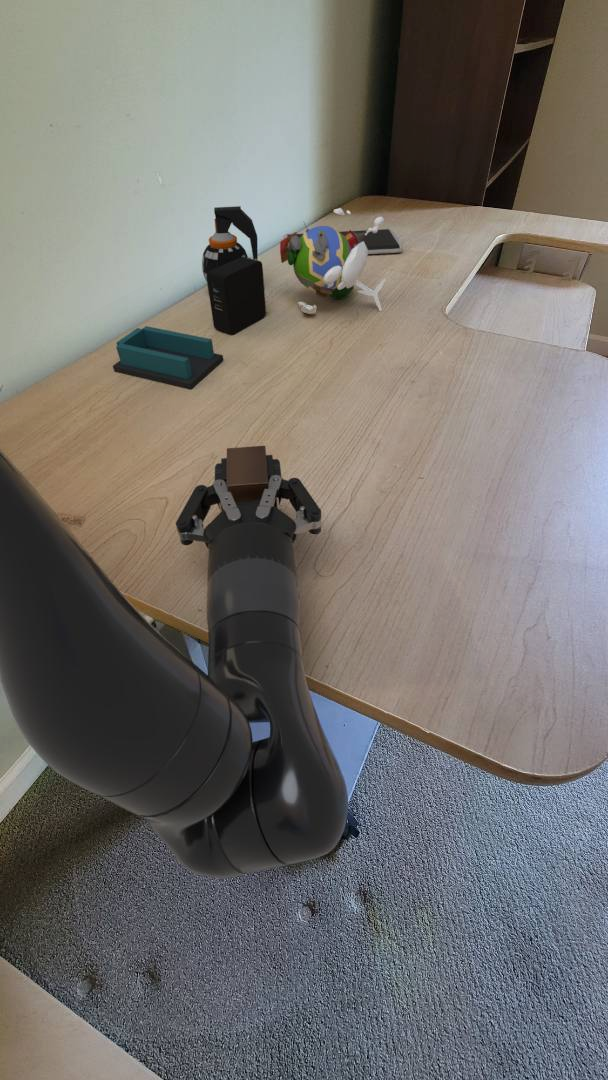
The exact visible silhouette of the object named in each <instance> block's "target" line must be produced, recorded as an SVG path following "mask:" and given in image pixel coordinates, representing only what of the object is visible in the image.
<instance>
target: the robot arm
mask: <svg viewBox="0 0 608 1080" xmlns="http://www.w3.org/2000/svg"><path fill="white" fill-rule="evenodd" d="M266 460H267V472H268V484H269V488H265V489H264V492H263V495H262V498H261V500H255V501H251V502H242V501H239V502H235V501H234V499H233V496H232V494H231V492H230V491H227V457H224V458H221V460H220V462H219V463H216V464H215V466H214V481H213V482H212V485H209V486H206V485H204V484H198V485H197V486H195V488H194V489H193V491H192V492H191V494H190V496H189V498H188V499H187V502H186V503H185V505H184V507H183V509H182V511H181V513H180V514H179V516H178V518H177V520H176V521H175V527H176V530H177V534H178V538H179V541H180V544H182V545H183V546H190V545H192V544H194V541H195V542H201V543H204V544H205V547H206V548H207V550H208V553H207V554H208V555H207V579H206V580H207V583H206V584H207V585H206V623H207V630H208V631H207V632H208V652H207V653H208V654H207V656H208V657H207V673H206V672H204V671H203V670H202V669H201V668H200V667H199V666H198V665H196V664H195V663H194V662H193V661H192V660H191V659H189V657H187V656H186V655H185V654H184V653H183V652H182V651H181V650H179V649H178V648H177V647H176V646H175V645H174V644H172V643H171V642H170V641H169V640H168V639H167V638H165V636H163V635H162V634H161V633H160V632H159V631H158V630H157V629H156V628H155V627H154V626H153V624H151V623H150V622H149V621H148V620H147V619H146V618H145V616H143V614H142V613H141V612H140V611H139V610H138V609H137V607H135V606H134V605H133V604H132V602H131V601H130V600H129V599H128V598H127V597H126V595H125V594H124V593H123V592H122V591H121V589H120V588H119V587H118V586H117V585H116V584H115V582H114V581H113V580H112V579H111V578H110V577H109V575H108V574H107V573H106V572H105V571H104V570H103V568H102V567H101V566H100V564H99V563H98V562H97V561H96V560H95V558H94V557H93V556H92V555H91V554H90V552H89V551H88V550H87V549H86V547H85V546H84V545H83V544H82V542H81V541H80V539H78V538H77V536H76V535H75V533H73V531H72V530H71V529H70V528H69V526H68V525H67V524H66V523H65V522H64V520H62V518H61V517H60V516H59V514H58V513H57V512H56V511H55V510H54V509H53V508H52V506H51V505H50V504H49V503H48V501H46V500H45V498H44V497H43V496H42V494H40V493H39V491H38V490H37V489H36V487H34V485H33V484H32V483H31V482H30V480H29V479H28V478H27V477H26V476H25V475H24V474H23V473H22V472H21V470H20V469H19V468H18V467H17V466H16V465H15V463H13V461H12V460H11V459H10V458H9V457H8V455H7V454H6V453H5V452H4V451H3V450H2V449H1V448H0V683H1V686H2V689H3V692H4V695H5V698H6V701H7V703H8V706H9V709H10V711H11V714H12V716H13V718H14V721H15V723H16V724H17V727H18V729H19V730H20V732H21V734H22V736H23V737H24V739H25V740H26V742H27V743H28V744H29V746H30V747H31V748H32V750H33V751H34V752H35V753H36V754H37V755H38V757H39V758H40V759H42V761H43V762H44V763H45V764H46V765H48V766H49V767H50V768H51V769H52V770H53V771H54V772H55V773H57V774H58V775H59V776H61V777H62V778H64V779H66V780H67V781H69V782H70V783H72V784H74V785H76V786H77V787H80V788H82V789H84V790H86V791H88V793H91V794H93V795H95V796H98V797H100V798H101V799H103V800H106V801H107V802H110V803H111V804H113V805H115V806H117V807H119V808H121V809H123V810H125V811H127V812H129V813H132V814H133V815H136V816H138V817H140V818H142V819H145V822H147V824H148V826H150V828H151V830H153V833H155V835H156V836H157V837H158V839H159V840H160V841H161V842H162V843H163V844H164V845H165V846H166V847H167V849H168V850H169V851H170V852H171V853H172V855H173V856H174V857H175V858H176V859H177V861H178V862H179V863H180V864H181V865H182V866H183V867H184V868H185V869H187V870H189V872H192V873H194V874H197V875H200V876H204V877H206V878H207V877H208V878H213V879H229V878H230V879H231V878H237V877H241V876H245V875H249V874H254V873H259V872H263V871H267V870H271V869H275V868H279V867H280V868H281V867H284V866H288V865H293V864H298V863H302V862H307V861H311V860H315V859H318V858H320V857H323V856H325V855H327V854H328V853H330V852H332V851H333V850H334V849H335V848H336V846H338V845H337V844H338V843H339V842H340V840H341V838H342V836H343V833H344V832H345V828H346V825H347V821H348V816H349V815H348V814H349V795H348V794H349V793H348V789H347V788H348V787H347V784H346V781H345V778H344V774H343V772H342V769H341V767H340V764H339V761H338V759H337V757H336V755H335V753H334V751H333V748H332V746H331V744H330V742H329V740H328V738H327V736H326V733H325V731H324V729H323V726H322V724H321V721H320V718H319V716H318V713H317V709H316V708H315V706H314V702H313V699H312V695H311V693H310V689H309V686H308V682H307V679H306V674H305V666H304V657H303V650H302V648H303V647H302V639H301V633H300V632H301V631H300V626H301V625H300V624H301V623H300V621H301V606H300V605H301V604H300V600H301V599H300V598H301V597H300V592H299V587H298V586H299V585H298V578H297V570H296V569H297V568H296V561H295V552H294V543H295V541H296V539H297V535H299V534H302V533H305V532H308V533H309V534H311V535H314V536H316V535H319V534H320V533H322V510H321V508H320V507H319V506H318V504H317V503H316V501H315V500H314V498H313V497H312V495H311V494H310V492H309V491H308V490H307V488H306V487H305V485H304V483H303V482H302V481H301V479H299V477H291V478H289V479H288V480H287V479H284V478H283V477H282V470H281V462H280V460H279V459H278V458H274V456H273V454H266ZM283 500H288V501H289V503H290V505H291V506H292V508H293V510H294V511H295V517H296V519H292V518H291V517H290V516H288V515H287V514H286V513H285V512H284V511H282V510H281V506H282V501H283ZM215 505H217V507H218V510H219V513H218V514H217V515H216V516H215V517H214V518H213V519H212V520H211V521H210V522H209V523H208V524H207V526H204V521H205V519H206V517H207V515H208V513H209V512H210V509H211V507H212V506H215ZM250 723H251V724H255V723H269V736H268V737H266V738H262V739H259V740H256V741H253V740H254V739H253V732H252V728H251V724H250Z"/></svg>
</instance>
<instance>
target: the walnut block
mask: <svg viewBox="0 0 608 1080" xmlns="http://www.w3.org/2000/svg"><path fill="white" fill-rule="evenodd" d="M266 455H267V450H266V445H256V446H255V445H253V446H241V447H229V448H226V458H227V491H230V492H231V494H232V496H233V499H234V501H235V502H239V501H242V502H251V501H255V500H261V498H262V495H263V492H264V489H265V488H269V484H268V472H267V460H266Z"/></svg>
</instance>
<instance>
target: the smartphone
mask: <svg viewBox="0 0 608 1080" xmlns="http://www.w3.org/2000/svg"><path fill="white" fill-rule="evenodd" d="M349 231H350V230H346V231H345V230H344V231H339V232H340V233H341V234H342V235H345V234H346V233H349ZM352 231H353V232H355V233H365V232H367V231H368V229H366V230H365V229H363V230H352ZM291 234H292V233H289V234H288V233H287V234H284V235H283V237H282V238H283V239H285V238H286V237H288V236H290V235H291ZM303 234H304V233H297V235H296V236H298V237H299V238H301V236H302V235H303ZM283 239H282V240H283ZM363 241H364V243H365V245H366V247H367V249H368V255H378V254H396V253H397V254H398V253H401V252H403V250H404V246H403V243H401V241H400V240H399V238H398V237H397V235H396V233H395V232H394V231H393V230H392V228H391V229H390V228H385V229H384V228H383V229H378V232H377V233H373V232H368V233H367V235H366V236H365V237H364V238H363V239H362V241H361V242H363ZM361 242H360V243H361Z"/></svg>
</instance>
